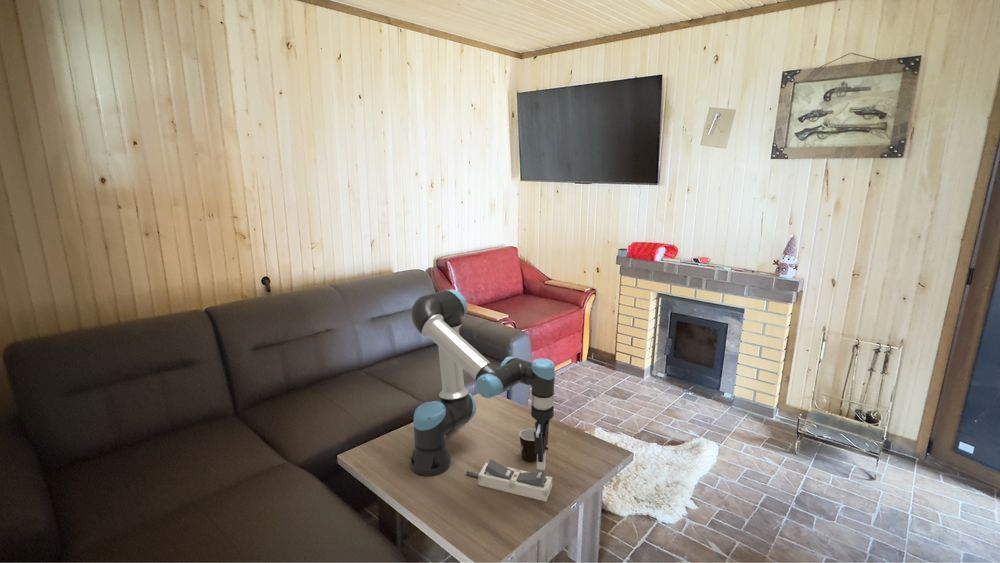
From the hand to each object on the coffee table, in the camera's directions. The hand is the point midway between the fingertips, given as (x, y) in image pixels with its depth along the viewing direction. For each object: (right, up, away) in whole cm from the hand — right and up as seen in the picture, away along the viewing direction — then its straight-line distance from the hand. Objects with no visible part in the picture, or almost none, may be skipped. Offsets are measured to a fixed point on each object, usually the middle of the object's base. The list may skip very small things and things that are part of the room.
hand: (541, 468), depth 162 cm
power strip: (-12, -8, +6) cm, 16 cm away
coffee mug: (-2, -5, +24) cm, 24 cm away
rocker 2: (-3, -5, +2) cm, 6 cm away
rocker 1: (-14, -3, +6) cm, 16 cm away
